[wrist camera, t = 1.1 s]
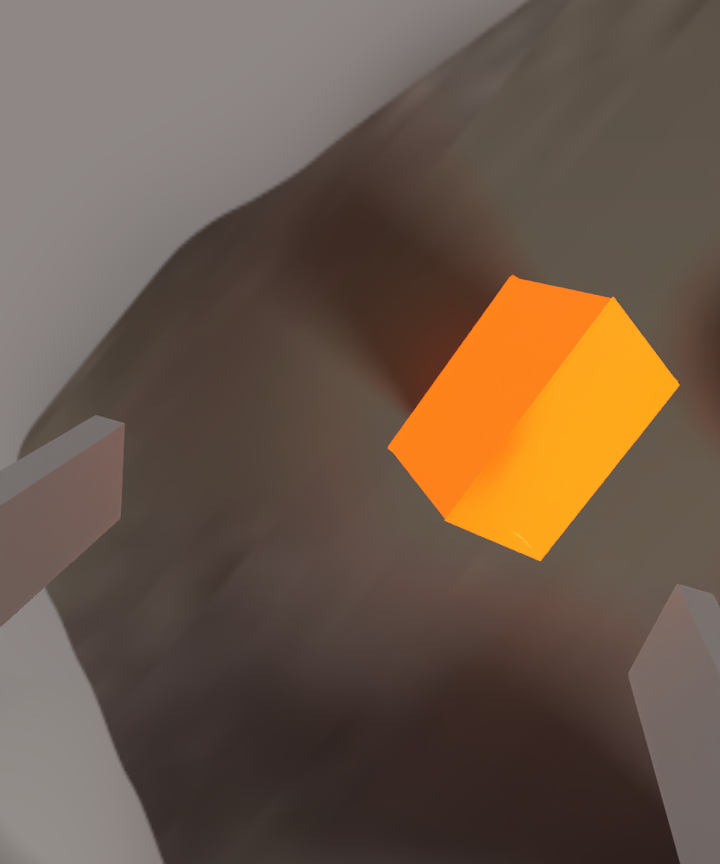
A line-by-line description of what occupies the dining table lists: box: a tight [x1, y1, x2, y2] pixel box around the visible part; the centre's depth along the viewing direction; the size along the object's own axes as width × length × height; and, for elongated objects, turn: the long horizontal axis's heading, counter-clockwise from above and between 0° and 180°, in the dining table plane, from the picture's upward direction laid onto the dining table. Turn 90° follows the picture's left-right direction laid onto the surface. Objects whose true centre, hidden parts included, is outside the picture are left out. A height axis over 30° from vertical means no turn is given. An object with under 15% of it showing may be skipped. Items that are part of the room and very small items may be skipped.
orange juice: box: [388, 275, 679, 561], centre depth 28 cm, size 8×9×20 cm
